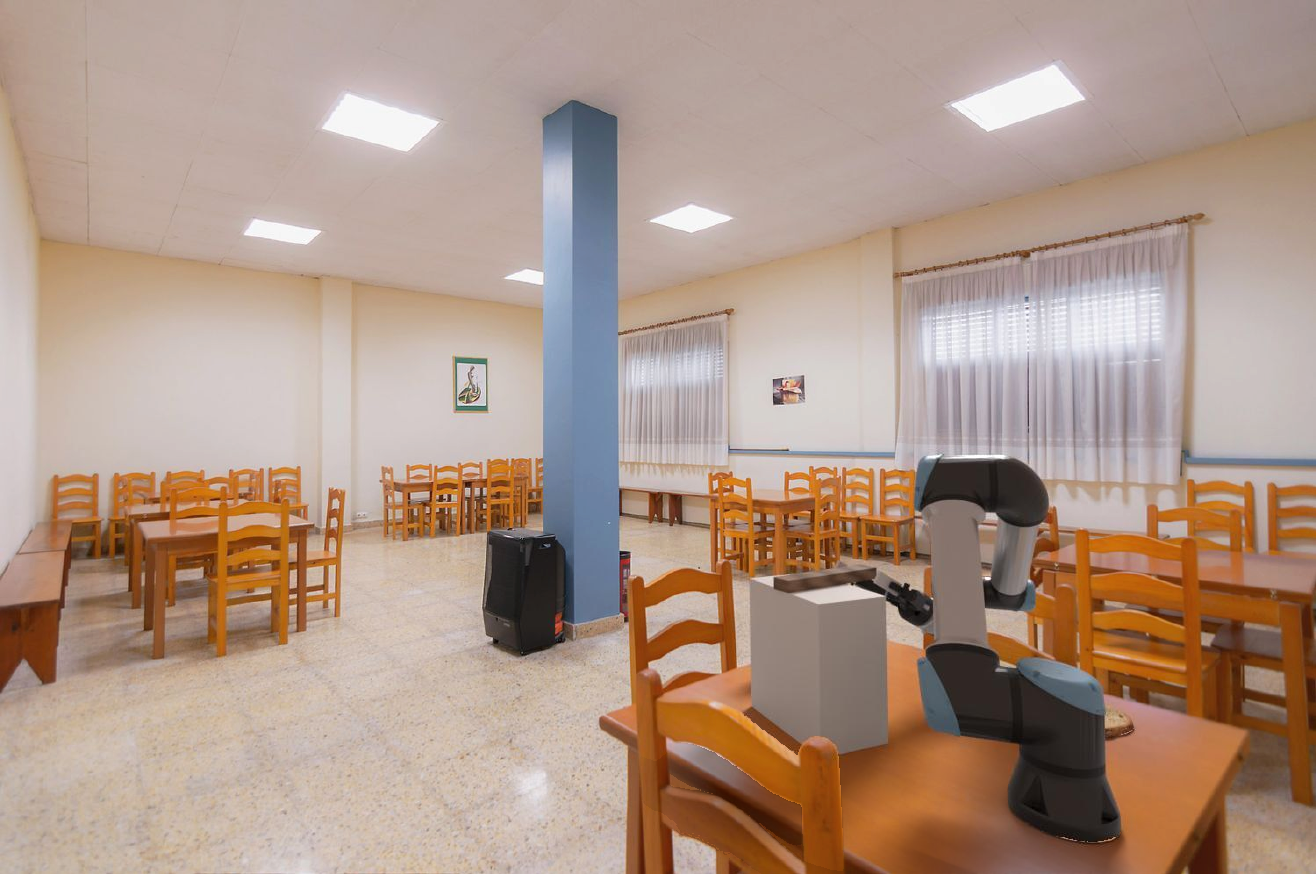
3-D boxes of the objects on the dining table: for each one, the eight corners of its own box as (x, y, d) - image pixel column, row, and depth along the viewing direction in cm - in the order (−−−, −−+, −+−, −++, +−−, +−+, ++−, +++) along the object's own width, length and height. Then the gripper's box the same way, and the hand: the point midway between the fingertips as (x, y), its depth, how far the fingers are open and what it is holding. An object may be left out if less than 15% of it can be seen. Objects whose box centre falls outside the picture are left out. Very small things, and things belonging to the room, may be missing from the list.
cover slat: (860, 575, 145) (860, 564, 145) (876, 578, 141) (876, 567, 141) (773, 588, 132) (773, 577, 132) (788, 593, 128) (788, 580, 128)
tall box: (810, 695, 149) (808, 572, 149) (888, 743, 124) (885, 596, 125) (751, 706, 143) (749, 578, 143) (820, 758, 119) (818, 604, 119)
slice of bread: (1136, 722, 133) (1135, 705, 133) (1128, 754, 120) (1127, 734, 120) (1038, 700, 145) (1038, 684, 145) (1021, 727, 132) (1020, 709, 132)
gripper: (959, 641, 132) (889, 599, 126) (878, 613, 156) (815, 576, 149) (972, 608, 134) (903, 565, 128) (889, 585, 157) (828, 547, 151)
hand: (855, 571), depth 138 cm, fingers open, 13 cm apart
